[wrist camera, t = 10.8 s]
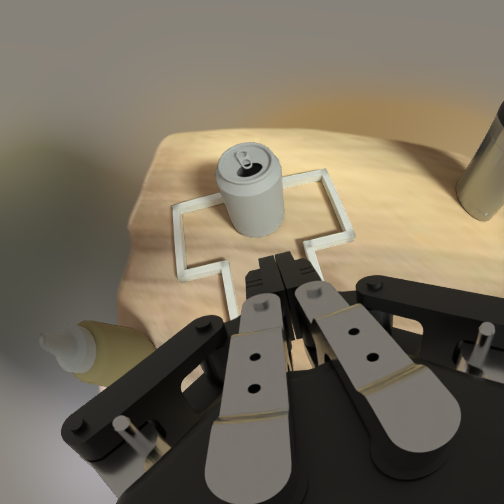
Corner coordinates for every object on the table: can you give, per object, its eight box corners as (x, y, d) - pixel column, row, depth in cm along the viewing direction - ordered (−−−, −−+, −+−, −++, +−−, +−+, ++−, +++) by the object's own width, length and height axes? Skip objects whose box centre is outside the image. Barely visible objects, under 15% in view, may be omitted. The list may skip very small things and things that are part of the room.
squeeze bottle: (109, 352, 34) (11, 324, 17) (148, 321, 35) (56, 275, 19) (136, 400, 30) (34, 403, 14) (179, 370, 32) (87, 359, 16)
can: (242, 248, 38) (222, 197, 27) (225, 207, 41) (204, 150, 30) (293, 228, 38) (292, 171, 27) (272, 189, 41) (264, 129, 30)
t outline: (379, 317, 31) (383, 315, 30) (192, 362, 32) (188, 362, 31) (325, 174, 41) (325, 168, 40) (175, 210, 42) (172, 205, 41)
